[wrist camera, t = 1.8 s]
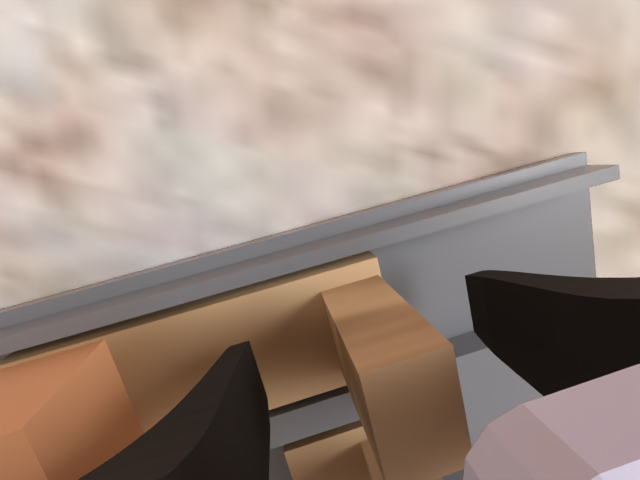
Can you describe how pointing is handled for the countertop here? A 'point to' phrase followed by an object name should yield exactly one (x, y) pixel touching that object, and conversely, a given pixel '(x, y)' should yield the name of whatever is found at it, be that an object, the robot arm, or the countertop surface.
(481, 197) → the lane board
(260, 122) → the countertop surface
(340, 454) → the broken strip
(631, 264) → the countertop surface
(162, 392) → the oak strip
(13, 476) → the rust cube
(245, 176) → the countertop surface
